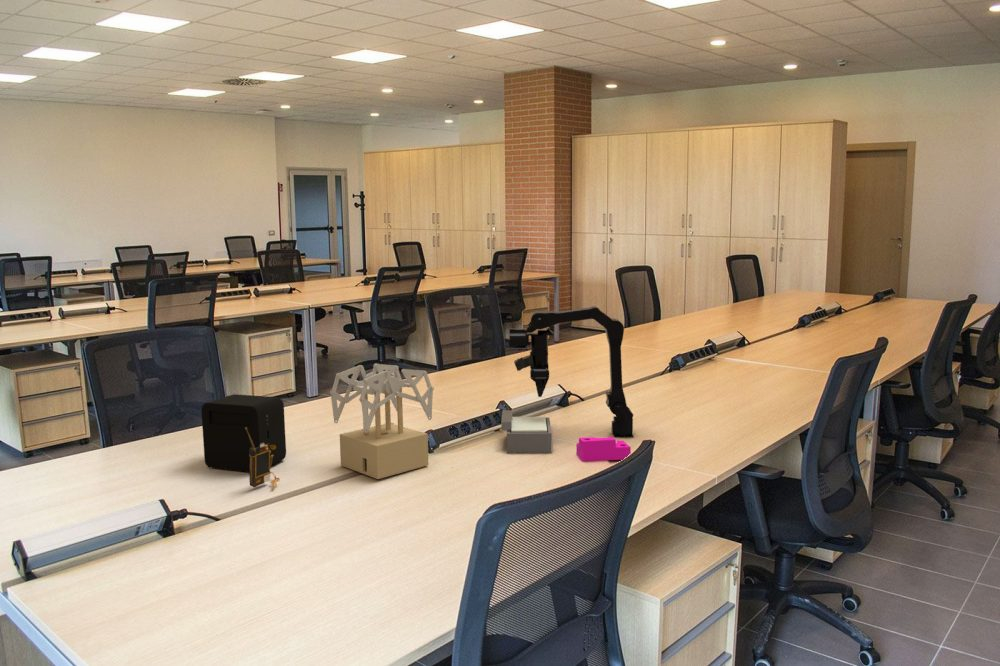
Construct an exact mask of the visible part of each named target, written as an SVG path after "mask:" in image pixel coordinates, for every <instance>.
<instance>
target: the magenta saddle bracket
mask: <svg viewBox="0 0 1000 666" xmlns="http://www.w3.org/2000/svg"><path fill="white" fill-rule="evenodd" d="M575 449H576V456H577V457H578V459H580V461H582V462H584V463H586V462H599V461H603V462H604V461H615V460H616V461H617V460H619V461H620V460H624V459H623V458H625V457H627V456H628V455H629V454H631V449H632V448H631V446H630V445H629V444H628V443H627V442H626V441H624V440H617V439H616V438H615V437H614V436H610V437H597V436H596V437H595V436H587V437H586V436H585V437H578V442H576V448H575Z"/></svg>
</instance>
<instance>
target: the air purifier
mask: <svg viewBox="0 0 1000 666" xmlns="http://www.w3.org/2000/svg"><path fill="white" fill-rule="evenodd" d="M200 410H201V422H202V423H201V424H202V438H203V439H202V441H203V454H204V455H203V456H204V457H203V458H204V463H205V464H206V466H207V467H209V468H210V467H212V468H211V469H216V468H218V469H217V470H226V469H227V471H237V472H246V473H250V456H249V450H250V448H253V447H252V444H251V442H250V438H249V436H248V433H249V434H250V437H251V440H252V441H253V444H254V446H255V447H259V446H260V444H262V443H264V445H265V444H268V445H275V446H276V448H275V449H274V450H273V449H271V448H270V450H271V453H270V456H271V455H274V456H273V458H272V464H271V466H273V465H275V464H277V463H279V462H282V461H283V460H285V459H286V456H287V444H286V443H287V441H286V423H285V420H286V419H285V405H284V401H283V400H282V399H281V398H280V397H277V396H267V395H265V396H264V395H249V394H235V393H233V394H231V395H227V396H224V397H221V398H218V399H214V400H210V401H208V402H205V403H203V404H202V406H201V408H200ZM246 427H247V430H246V429H245V428H246ZM247 431H248V433H247Z"/></svg>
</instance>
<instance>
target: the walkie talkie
mask: <svg viewBox="0 0 1000 666" xmlns="http://www.w3.org/2000/svg"><path fill="white" fill-rule="evenodd" d="M245 429H246V430H247V427H246V428H245ZM247 433H248V431H247ZM248 436H249V438H250V442H251V444H252V447H253V448H250V450H249V456H250V472H249V486H250V487H253V488H256V487H258V486H261V485H264V484H265V483H267V482H269V481H270V479H271V474H272V475H273V476H274V478H273V480H271V481H270V483H271V484H272V486H271V489H274V488H275V487H276V486H277V483H278V482H280V480H281V477H277V475H275V473H274V472H273V471H271V468H272V465H271V464H272V458H273V456H274V455H271V456H270V453H271V450H270V448H271V449H273V450H274V449H275V448H276V446H275V445H268V444H265V445H264V443H262V444H260V446H259V447H255V446H254V444H253V441H252V440H251V437H250V434H249V433H248Z"/></svg>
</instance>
